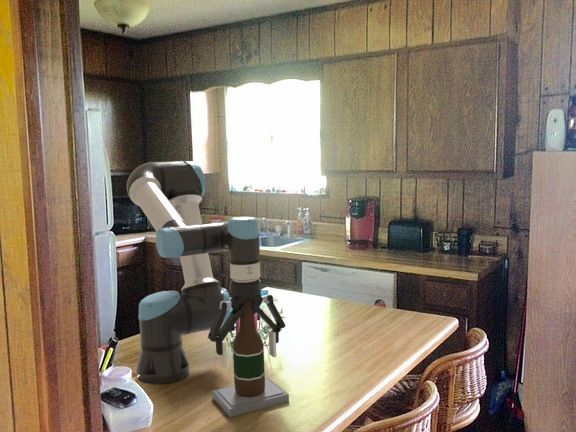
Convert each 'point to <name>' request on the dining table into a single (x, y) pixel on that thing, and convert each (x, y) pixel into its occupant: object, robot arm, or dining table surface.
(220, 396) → the slate stand
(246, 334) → the beer bottle
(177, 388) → the dining table surface
